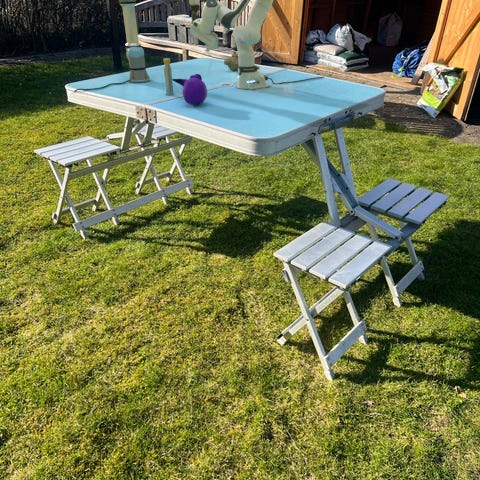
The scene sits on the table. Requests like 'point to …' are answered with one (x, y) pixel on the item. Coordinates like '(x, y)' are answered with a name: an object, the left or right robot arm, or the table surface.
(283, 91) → the table surface
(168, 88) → the bottle
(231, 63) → the teapot
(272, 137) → the table surface
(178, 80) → the toy
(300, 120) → the table surface
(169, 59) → the cap
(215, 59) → the table surface
